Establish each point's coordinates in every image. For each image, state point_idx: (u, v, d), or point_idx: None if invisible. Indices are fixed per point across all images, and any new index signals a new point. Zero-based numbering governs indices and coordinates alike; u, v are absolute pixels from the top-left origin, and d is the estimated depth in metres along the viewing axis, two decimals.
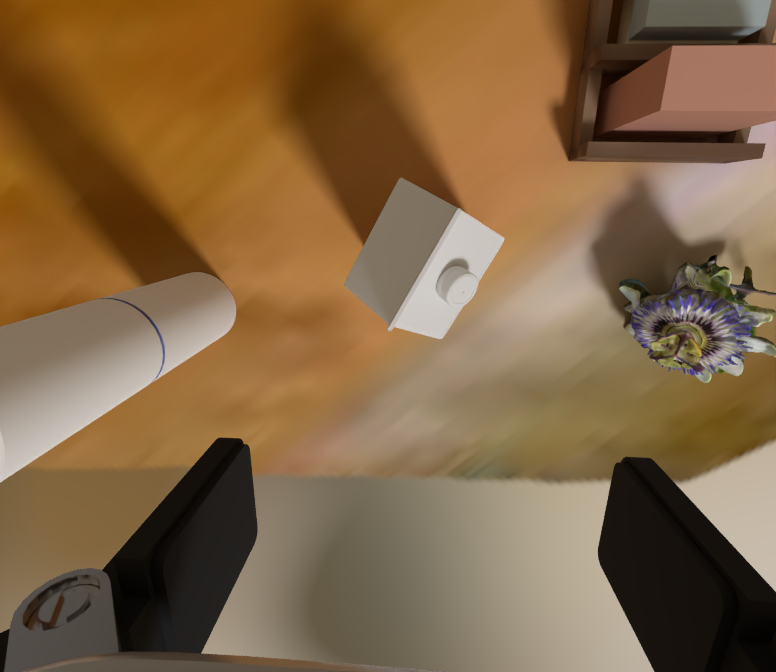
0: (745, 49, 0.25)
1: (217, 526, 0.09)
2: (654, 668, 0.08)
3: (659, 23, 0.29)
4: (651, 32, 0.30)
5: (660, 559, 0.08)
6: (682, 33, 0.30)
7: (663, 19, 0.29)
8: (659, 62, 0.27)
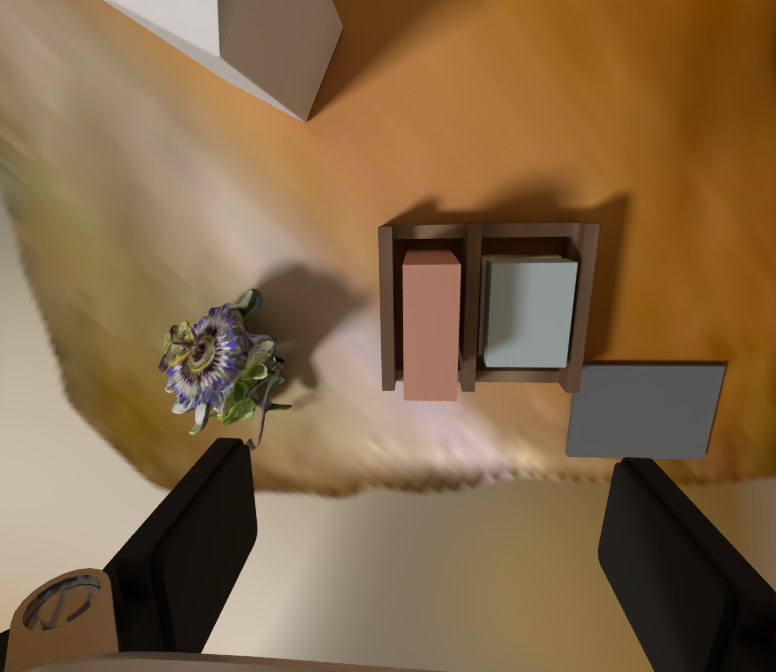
0: (455, 331, 0.26)
1: (217, 526, 0.09)
2: (654, 668, 0.08)
3: (494, 276, 0.30)
4: (489, 274, 0.31)
5: (660, 559, 0.08)
6: (487, 303, 0.32)
7: (497, 279, 0.31)
8: (450, 262, 0.26)
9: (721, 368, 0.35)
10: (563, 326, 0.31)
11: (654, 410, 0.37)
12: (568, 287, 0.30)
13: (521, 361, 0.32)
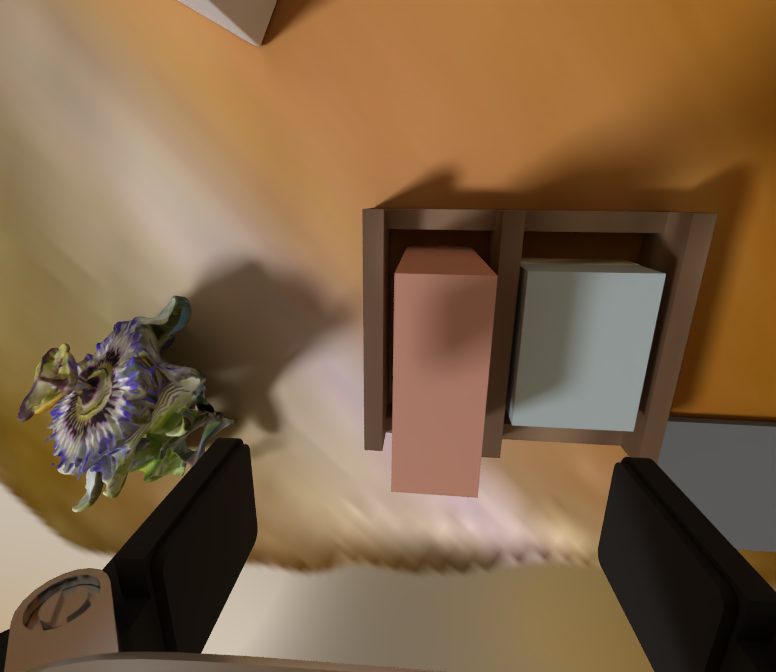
0: (481, 389, 0.15)
1: (217, 526, 0.09)
2: (654, 667, 0.08)
3: (530, 290, 0.20)
4: (521, 287, 0.21)
5: (660, 559, 0.08)
6: (516, 330, 0.21)
7: (534, 296, 0.20)
8: (477, 269, 0.15)
9: None
10: (634, 371, 0.20)
11: (753, 485, 0.26)
12: (647, 312, 0.19)
13: (565, 419, 0.21)
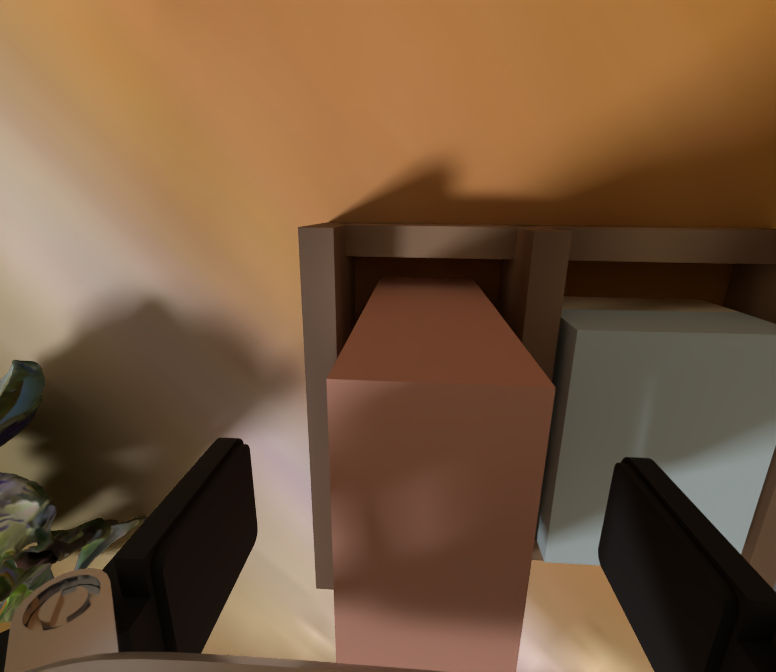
0: (513, 602, 0.08)
1: (217, 526, 0.09)
2: (653, 668, 0.08)
3: (580, 361, 0.12)
4: (561, 350, 0.13)
5: (660, 559, 0.08)
6: None
7: (587, 369, 0.12)
8: (504, 358, 0.08)
9: None
10: (744, 486, 0.13)
11: None
12: (773, 396, 0.12)
13: None
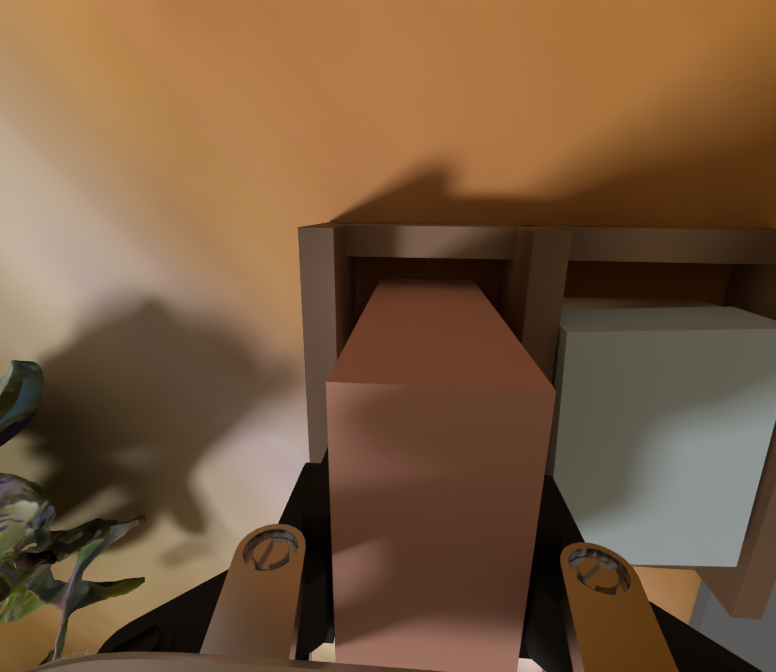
0: (514, 605, 0.08)
1: None
2: None
3: (571, 363, 0.12)
4: None
5: None
6: None
7: (578, 370, 0.12)
8: (504, 360, 0.07)
9: None
10: (741, 480, 0.13)
11: None
12: (766, 390, 0.12)
13: (629, 552, 0.14)
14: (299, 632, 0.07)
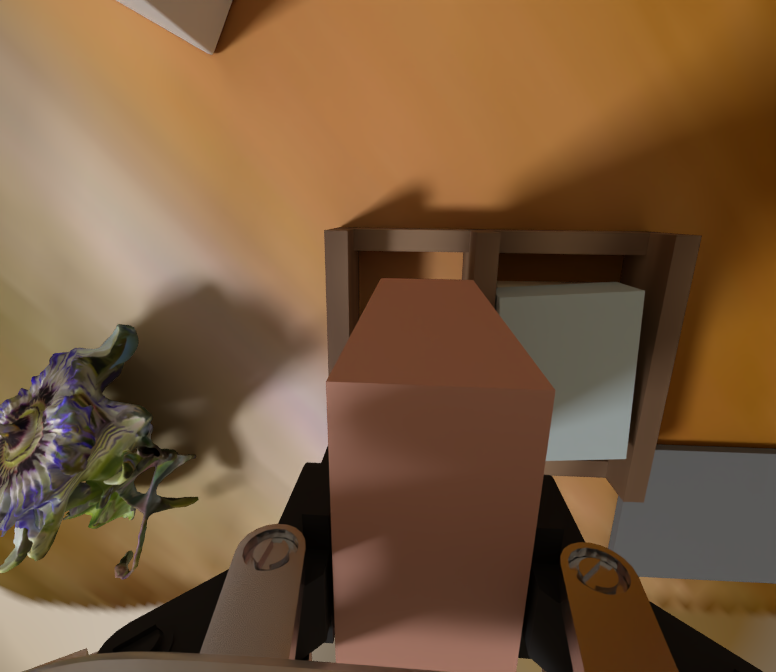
0: (513, 604, 0.08)
1: None
2: None
3: (504, 318, 0.18)
4: None
5: None
6: None
7: (509, 323, 0.18)
8: (504, 360, 0.08)
9: None
10: (621, 395, 0.19)
11: (742, 515, 0.25)
12: (629, 332, 0.18)
13: (553, 452, 0.20)
14: (299, 632, 0.07)
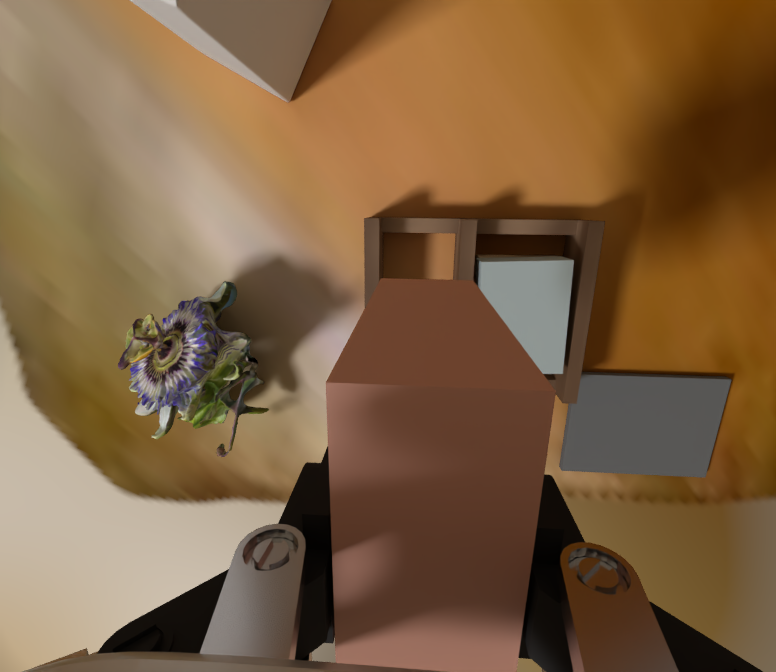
0: (513, 605, 0.08)
1: None
2: None
3: (483, 275, 0.28)
4: (478, 274, 0.29)
5: None
6: None
7: (487, 279, 0.28)
8: (503, 361, 0.08)
9: (727, 381, 0.33)
10: (559, 329, 0.29)
11: (655, 423, 0.35)
12: (564, 287, 0.28)
13: None
14: (299, 632, 0.07)
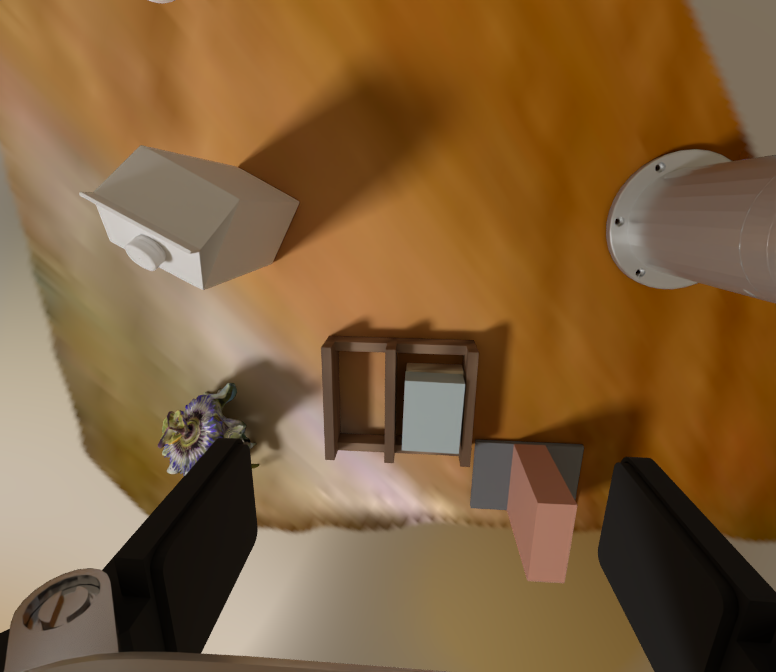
0: (568, 543, 0.39)
1: (217, 526, 0.09)
2: (653, 668, 0.08)
3: (406, 389, 0.42)
4: None
5: (660, 559, 0.08)
6: None
7: (408, 391, 0.42)
8: (566, 495, 0.39)
9: (581, 448, 0.47)
10: (456, 426, 0.43)
11: None
12: (459, 400, 0.42)
13: (426, 448, 0.44)
14: None
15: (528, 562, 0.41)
